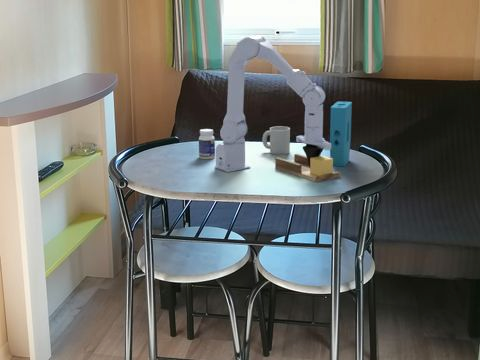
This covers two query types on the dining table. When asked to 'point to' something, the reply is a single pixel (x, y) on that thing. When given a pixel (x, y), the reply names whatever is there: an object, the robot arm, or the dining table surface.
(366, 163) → the dining table surface
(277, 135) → the cup
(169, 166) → the dining table surface
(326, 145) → the robot arm
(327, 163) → the block
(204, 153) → the pill bottle
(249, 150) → the dining table surface
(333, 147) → the block
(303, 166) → the chute
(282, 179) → the dining table surface
